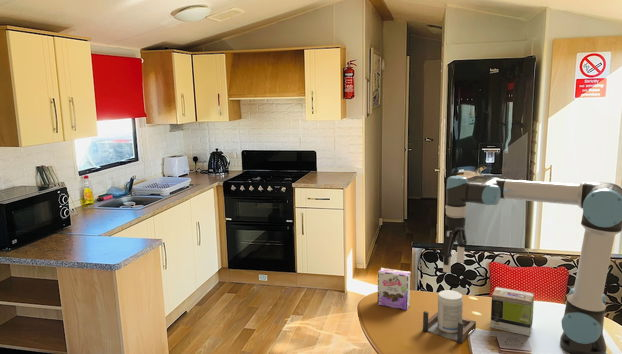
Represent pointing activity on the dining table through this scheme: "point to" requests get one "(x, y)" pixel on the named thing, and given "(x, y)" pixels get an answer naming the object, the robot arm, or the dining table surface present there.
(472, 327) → the keeper cradle
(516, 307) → the tea box
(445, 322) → the supplement tub
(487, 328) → the dining table surface
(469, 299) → the dining table surface
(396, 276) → the candy box
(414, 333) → the dining table surface
